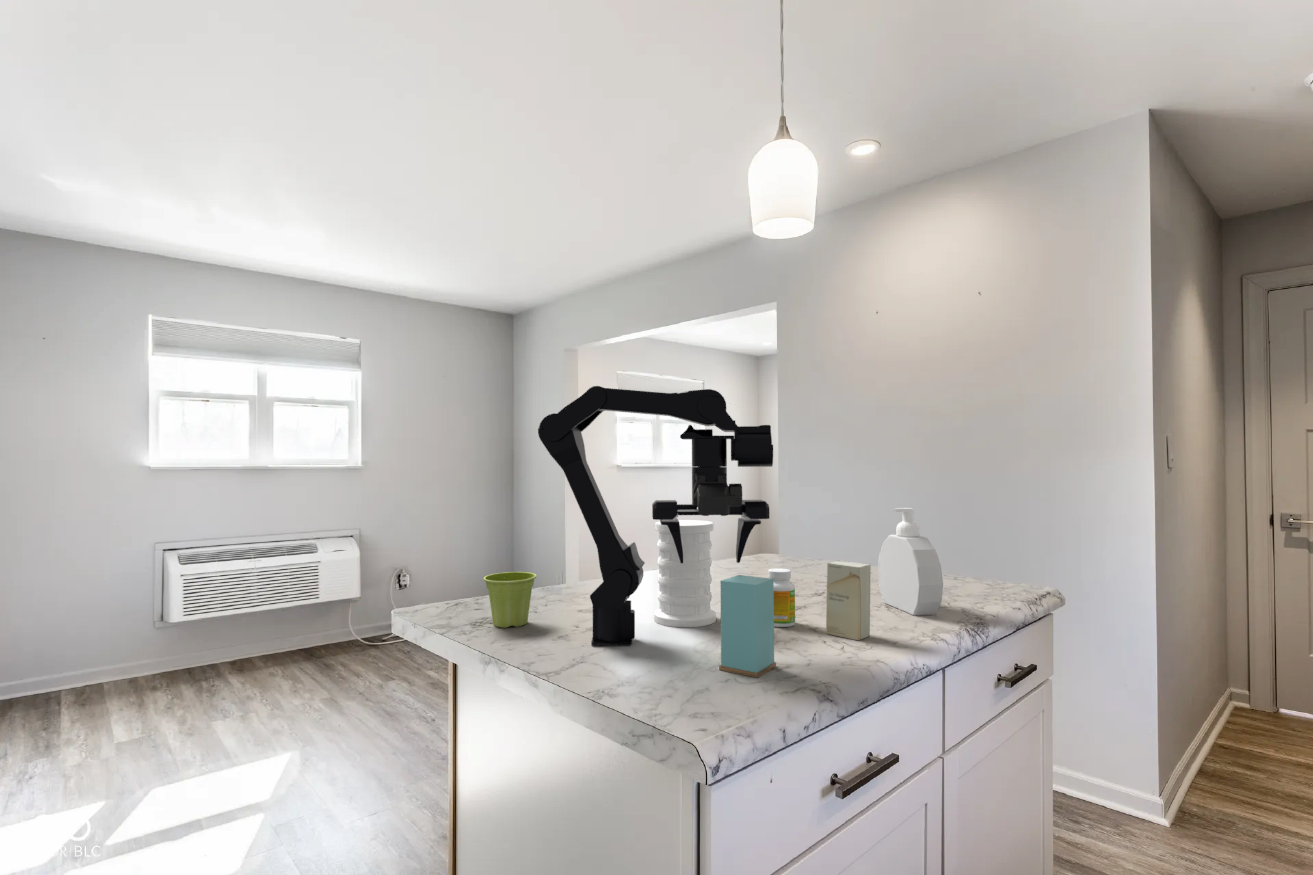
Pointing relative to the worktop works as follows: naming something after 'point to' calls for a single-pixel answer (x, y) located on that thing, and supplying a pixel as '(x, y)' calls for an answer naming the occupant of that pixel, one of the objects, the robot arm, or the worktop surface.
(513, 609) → the plant pot
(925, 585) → the soap bottle
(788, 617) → the supplement bottle
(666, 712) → the worktop surface
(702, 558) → the decorative container
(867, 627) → the skincare box
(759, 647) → the teal block
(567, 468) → the robot arm
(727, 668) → the post
